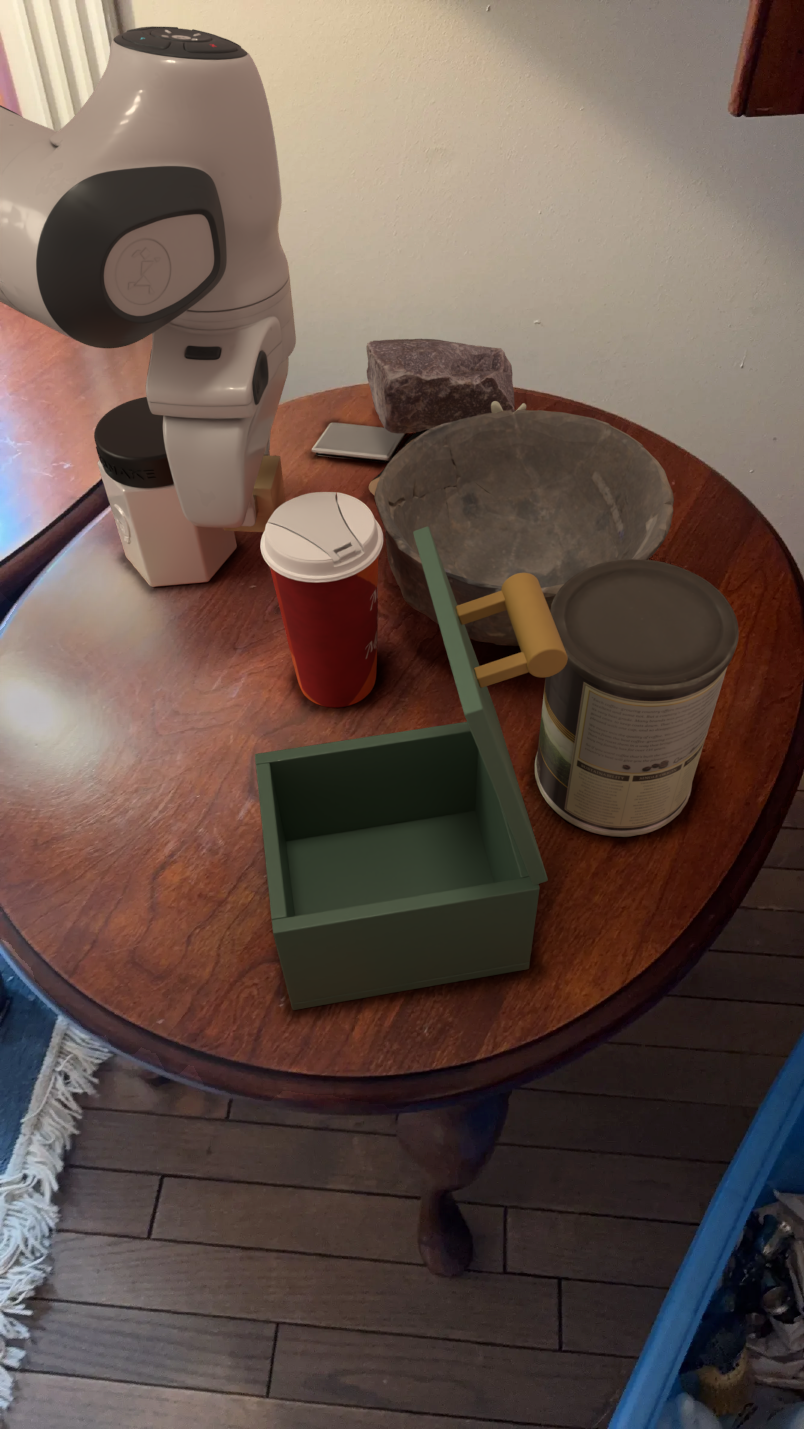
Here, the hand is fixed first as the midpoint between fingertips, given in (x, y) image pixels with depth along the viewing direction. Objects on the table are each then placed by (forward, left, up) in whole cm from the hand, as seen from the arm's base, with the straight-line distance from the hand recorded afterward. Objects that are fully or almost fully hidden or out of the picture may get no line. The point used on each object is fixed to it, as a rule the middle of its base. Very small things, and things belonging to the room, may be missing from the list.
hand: (252, 497), depth 77 cm
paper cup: (-2, -13, -7) cm, 15 cm away
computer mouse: (+17, +3, -7) cm, 19 cm away
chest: (-9, -31, -7) cm, 33 cm away
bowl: (+14, -14, -7) cm, 21 cm away
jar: (-4, +6, -7) cm, 10 cm away
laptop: (+15, +9, -5) cm, 19 cm away
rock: (+23, +8, -9) cm, 26 cm away
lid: (-4, -33, +9) cm, 34 cm away
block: (0, 0, -2) cm, 2 cm away
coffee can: (+8, -31, -7) cm, 33 cm away
